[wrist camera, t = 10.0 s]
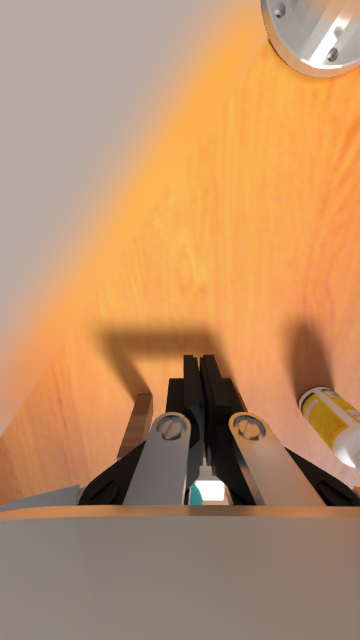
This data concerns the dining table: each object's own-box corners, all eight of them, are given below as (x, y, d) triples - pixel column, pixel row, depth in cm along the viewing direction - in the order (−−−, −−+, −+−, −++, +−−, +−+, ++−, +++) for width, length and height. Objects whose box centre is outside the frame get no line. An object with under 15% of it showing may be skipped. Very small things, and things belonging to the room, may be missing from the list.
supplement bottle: (300, 421, 28) (361, 501, 18) (294, 391, 26) (356, 461, 17) (338, 411, 27) (421, 488, 18) (333, 380, 26) (420, 447, 16)
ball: (168, 480, 33) (167, 480, 29) (200, 480, 33) (203, 480, 29) (167, 527, 29) (165, 534, 25) (202, 526, 29) (206, 534, 25)
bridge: (138, 394, 27) (116, 457, 18) (239, 394, 26) (268, 458, 18) (139, 411, 28) (119, 480, 19) (238, 411, 27) (265, 480, 18)
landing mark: (150, 445, 29) (150, 446, 29) (227, 445, 29) (227, 446, 29) (154, 498, 33) (154, 499, 32) (223, 498, 32) (223, 500, 32)
